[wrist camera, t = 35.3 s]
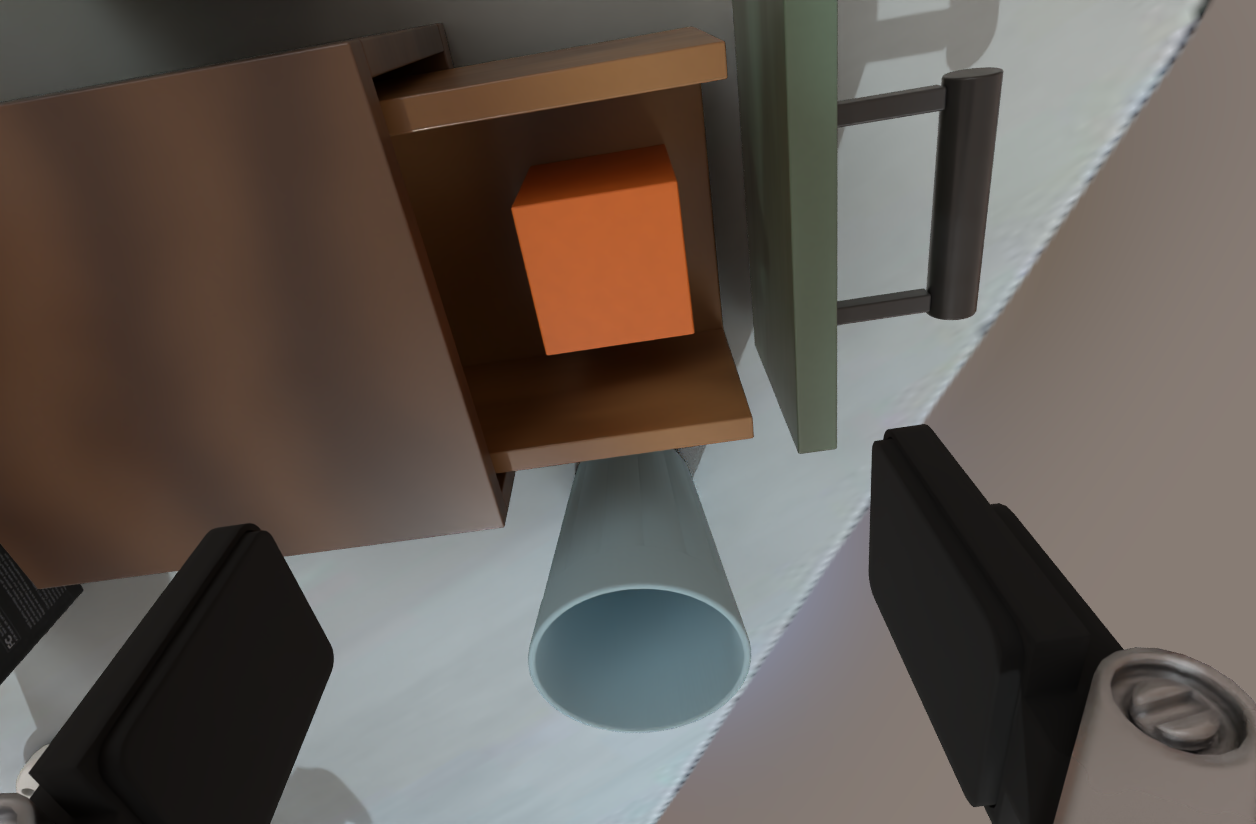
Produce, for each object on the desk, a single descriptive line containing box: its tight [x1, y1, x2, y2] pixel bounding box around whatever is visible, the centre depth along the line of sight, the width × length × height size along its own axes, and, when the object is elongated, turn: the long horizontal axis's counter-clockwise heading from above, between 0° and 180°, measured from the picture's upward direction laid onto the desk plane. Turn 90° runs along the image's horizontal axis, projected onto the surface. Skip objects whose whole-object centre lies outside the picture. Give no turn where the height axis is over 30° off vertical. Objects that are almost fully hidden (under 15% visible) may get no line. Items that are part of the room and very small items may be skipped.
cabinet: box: [0, 23, 516, 589], centre depth 23 cm, size 16×14×10 cm
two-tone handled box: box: [373, 0, 1003, 473], centre depth 22 cm, size 20×12×8 cm, turn 99°
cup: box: [528, 449, 751, 733], centre depth 28 cm, size 8×8×10 cm
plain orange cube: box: [511, 144, 695, 355], centre depth 22 cm, size 5×5×5 cm
